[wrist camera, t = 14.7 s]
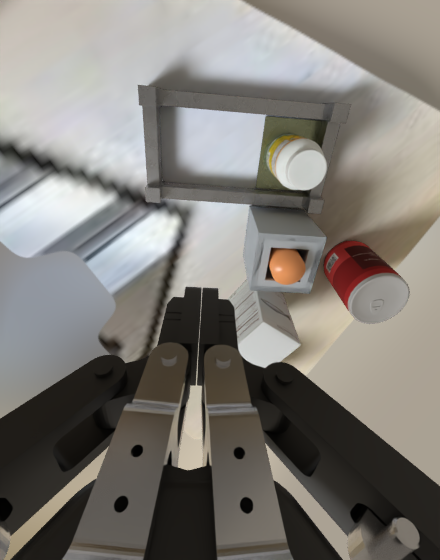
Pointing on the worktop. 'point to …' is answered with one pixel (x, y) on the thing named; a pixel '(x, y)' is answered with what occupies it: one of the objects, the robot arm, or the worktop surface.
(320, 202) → the grey rectangular tray
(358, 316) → the canned food
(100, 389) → the robot arm
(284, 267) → the brown egg
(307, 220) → the cabinet
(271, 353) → the supplement box
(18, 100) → the worktop surface
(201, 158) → the worktop surface
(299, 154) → the supplement bottle
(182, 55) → the worktop surface
